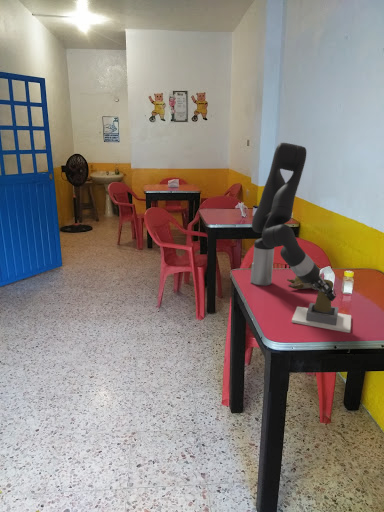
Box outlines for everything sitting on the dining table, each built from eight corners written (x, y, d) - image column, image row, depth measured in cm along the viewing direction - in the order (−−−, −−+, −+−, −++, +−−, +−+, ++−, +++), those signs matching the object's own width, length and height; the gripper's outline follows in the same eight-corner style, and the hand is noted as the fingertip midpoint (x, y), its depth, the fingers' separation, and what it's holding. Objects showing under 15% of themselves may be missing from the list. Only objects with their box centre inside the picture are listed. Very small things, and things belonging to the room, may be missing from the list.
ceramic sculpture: (323, 274, 172) (288, 274, 175) (323, 293, 174) (288, 292, 177) (320, 267, 182) (287, 267, 185) (319, 285, 184) (286, 284, 187)
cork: (332, 312, 142) (336, 283, 139) (314, 310, 144) (318, 282, 141) (330, 306, 148) (334, 278, 145) (313, 304, 149) (317, 276, 146)
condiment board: (291, 322, 144) (292, 312, 143) (297, 308, 157) (298, 299, 156) (349, 332, 137) (351, 322, 136) (350, 317, 150) (352, 307, 149)
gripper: (323, 265, 132) (348, 296, 139) (299, 254, 145) (324, 283, 152) (308, 281, 132) (334, 311, 139) (285, 269, 145) (310, 297, 152)
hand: (328, 296), depth 145 cm, fingers closed on cork, 4 cm apart
